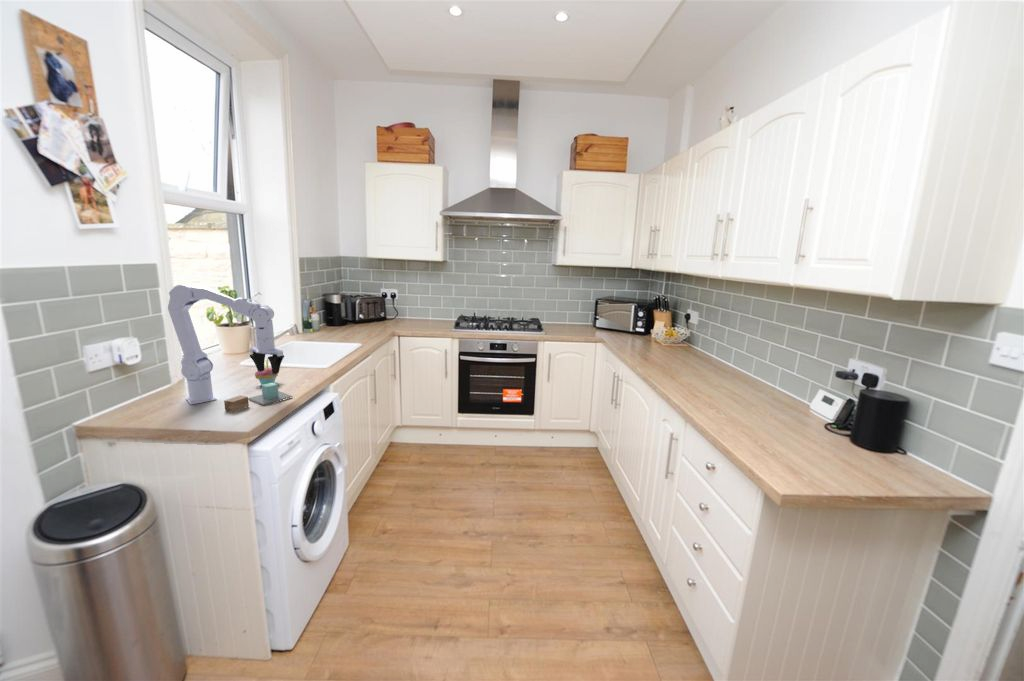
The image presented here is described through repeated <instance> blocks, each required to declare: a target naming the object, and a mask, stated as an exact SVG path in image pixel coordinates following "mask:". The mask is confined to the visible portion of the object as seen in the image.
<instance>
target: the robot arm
mask: <svg viewBox="0 0 1024 681" xmlns="http://www.w3.org/2000/svg"><path fill="white" fill-rule="evenodd" d="M168 295H169V301H168V305H167V310H168V314H169V317H170V319H171V322H172V325H173V327H174V330H175V333H176V337H177V338H178V339H177V340H178V342H179V345H180V347H181V350H182V354H183V357H182V358H181V361H180V363H181V375H182V376H183V378H185V379H186V384H187V392H188V396H186V397H185V400H187V402H188V403H189V405H195V404H201V403H207V402H212V401H216V400H217V397H216V396H215V395H214V393H213V384H212V383H213V382H212V375H211V372H212V371H213V370H214V364H213V362H212V360H211V359H210V358H209V357H208V354H206V353H205V352H204V351H203V350H202V347H201V345H200V342H199V338H198V336H197V333H196V330H195V327H194V324H193V321H192V319H191V314H190V312H189V310H190V309H191V308H192V307H193V305H194V304H195V303H197V302H199V301H201V300H202V301H203V300H209V301H211V302H215V303H217V304H221V305H224V306H227V307H230V308H231V310H232V312H234V313H236V314H239V315H242V316H245V317H247V318H250V319H252V321H253V322H254V325H255V337H256V345H257V346H253V347H250V353H251V354H249V357H250V359H251V360H252V361H253V363H254V365H255V368H256V369H257V371H258V372H261V371H264V368H265V361H266V360H265V358H266V355H269V356H267V358H268V362H269V363H270V367H271V368H272V372H273V374H277V373H278V374H279V372H280V368H281V365H282V361H283V359H284V358H285V355H284V350H281V349H278V348H276V345H275V334H274V325H273V324H274V323H273V318H274V317H275V311H274V309H273V308H271V307H270V306H268V305H262V304H261V303H258V302H257V303H255V302H253V301H250V300H248V298H247V297H238V298H234V297H231V296H229V295H227V294H224V293H221V292H219V291H217V290H215V289H212V288H210V287H209V286H207V285H201V284H200V283H197V282H195V283H189V284H188V283H187V284H177V285H175V286H173V288H172V289H171V290H170V291H169V292H168Z"/></svg>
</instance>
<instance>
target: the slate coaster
mask: <svg viewBox="0 0 1024 681" xmlns="http://www.w3.org/2000/svg"><path fill="white" fill-rule="evenodd" d="M278 395H279V397H276V398H272V399H266V398H263V395H262V394H259V395H255V396H252V397H251V396H250V397H248V401H250V400H251V401H250V402H253V401H254V402H253V403H255V402H256V403H255V404H257V403H258V405H260V404H261V405H260V406H262V405H265V406H268V405H267V404H269V405H272V404H275V403H274V402H276V403H278V402H277V401H280V400H283V399H286V398H290V397H293V395H291V394H289V393H284V392H282V391H279V390H278ZM280 402H281V401H280ZM271 403H272V404H271Z"/></svg>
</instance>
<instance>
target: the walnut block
mask: <svg viewBox="0 0 1024 681" xmlns="http://www.w3.org/2000/svg"><path fill="white" fill-rule="evenodd" d="M223 403H224V411H225V410H227V411H226V412H229V411H233V412H232V413H235V412H234V411H236V410H238V411H240V410H239V409H241V410H243V409H242V408H244V409H246V408H245V407H247V408H249V407H250V403H249V396H245V395H240V394H239V395H237V396H233V397H231V398H228V399H227V398H226V399H225V400H223ZM248 406H249V407H248ZM236 412H237V411H236Z"/></svg>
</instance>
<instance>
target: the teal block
mask: <svg viewBox="0 0 1024 681" xmlns="http://www.w3.org/2000/svg"><path fill="white" fill-rule="evenodd" d="M278 391H279V386H278V384H277V383H275V382H274V383H268V384H264V385H261V392H262V393H261V395H263V398H266V399H272V398H276V397H279V395H278Z"/></svg>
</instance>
